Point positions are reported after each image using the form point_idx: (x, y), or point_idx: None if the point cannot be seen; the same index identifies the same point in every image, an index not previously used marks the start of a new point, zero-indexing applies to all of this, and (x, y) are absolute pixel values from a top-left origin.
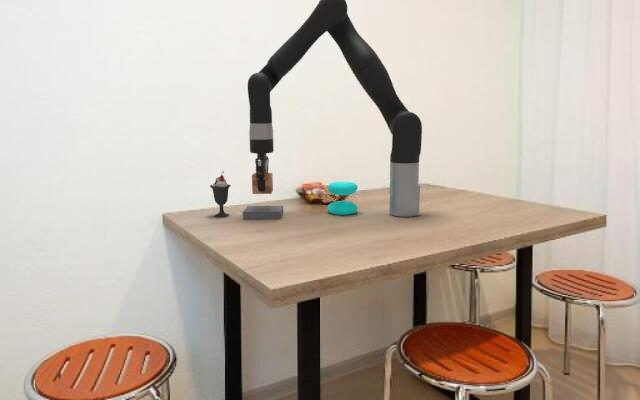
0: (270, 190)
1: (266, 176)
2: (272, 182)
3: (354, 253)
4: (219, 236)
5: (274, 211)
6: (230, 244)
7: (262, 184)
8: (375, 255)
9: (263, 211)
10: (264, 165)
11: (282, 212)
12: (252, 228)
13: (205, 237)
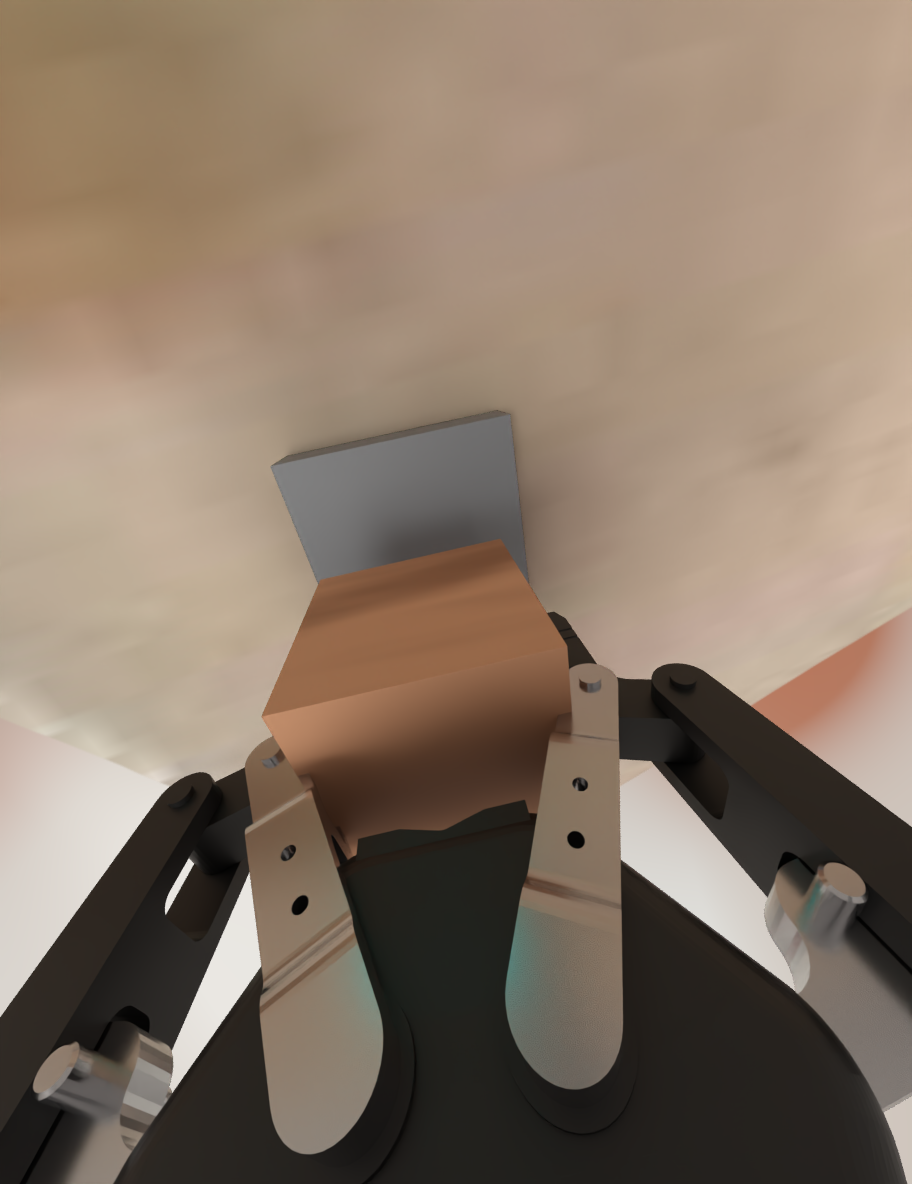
0: (508, 557)
1: (563, 684)
2: (329, 621)
3: None
4: (837, 593)
5: (512, 463)
6: None
7: (582, 649)
8: None
9: (517, 539)
10: (627, 876)
11: (349, 444)
12: (721, 507)
13: (836, 634)
